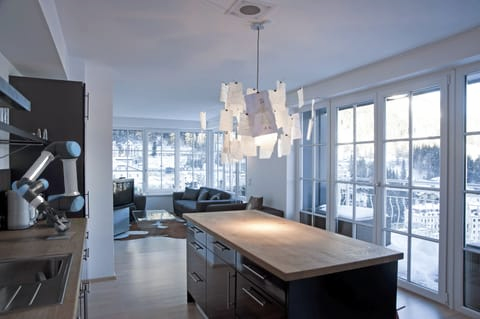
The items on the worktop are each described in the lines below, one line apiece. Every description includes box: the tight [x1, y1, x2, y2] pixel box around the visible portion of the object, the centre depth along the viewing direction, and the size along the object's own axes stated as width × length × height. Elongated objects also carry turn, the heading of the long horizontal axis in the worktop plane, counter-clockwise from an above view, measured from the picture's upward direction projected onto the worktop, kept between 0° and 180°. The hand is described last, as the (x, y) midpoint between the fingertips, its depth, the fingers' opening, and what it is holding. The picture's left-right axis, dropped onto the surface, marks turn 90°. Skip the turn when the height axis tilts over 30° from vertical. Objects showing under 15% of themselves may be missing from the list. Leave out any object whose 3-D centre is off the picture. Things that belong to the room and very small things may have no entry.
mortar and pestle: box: [53, 215, 72, 234], centre depth 220 cm, size 11×9×12 cm
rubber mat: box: [45, 231, 76, 241], centre depth 219 cm, size 20×13×1 cm, turn 15°
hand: (66, 226), depth 220 cm, fingers closed on mortar and pestle, 10 cm apart
